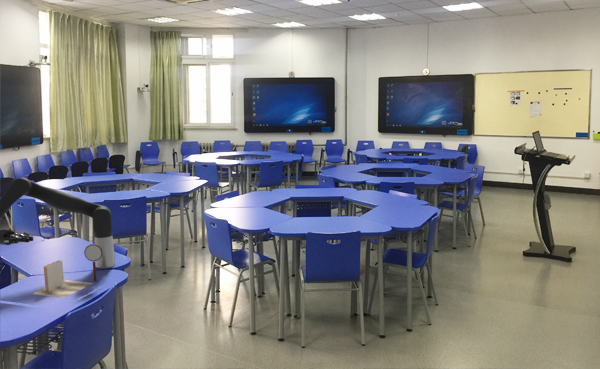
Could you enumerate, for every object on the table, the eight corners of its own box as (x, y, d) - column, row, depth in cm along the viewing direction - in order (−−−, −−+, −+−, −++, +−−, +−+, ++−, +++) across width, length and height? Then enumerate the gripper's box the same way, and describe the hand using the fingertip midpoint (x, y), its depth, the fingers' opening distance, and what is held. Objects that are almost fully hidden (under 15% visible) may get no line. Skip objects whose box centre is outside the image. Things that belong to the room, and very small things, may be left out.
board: (63, 281, 264) (62, 279, 263) (93, 285, 259) (93, 283, 258) (32, 295, 245) (32, 293, 244) (64, 299, 240) (64, 297, 239)
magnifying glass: (86, 283, 260) (83, 245, 257) (87, 282, 262) (84, 244, 259) (103, 283, 261) (101, 244, 258) (104, 282, 263) (102, 243, 260)
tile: (60, 283, 258) (58, 260, 256) (64, 284, 257) (62, 260, 255) (45, 290, 248) (43, 266, 246) (49, 291, 248) (47, 266, 246)
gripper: (-11, 232, 250) (18, 235, 245) (12, 226, 263) (40, 228, 258) (-9, 248, 251) (20, 250, 246) (14, 240, 264) (42, 243, 260)
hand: (30, 239), depth 252 cm, fingers closed
